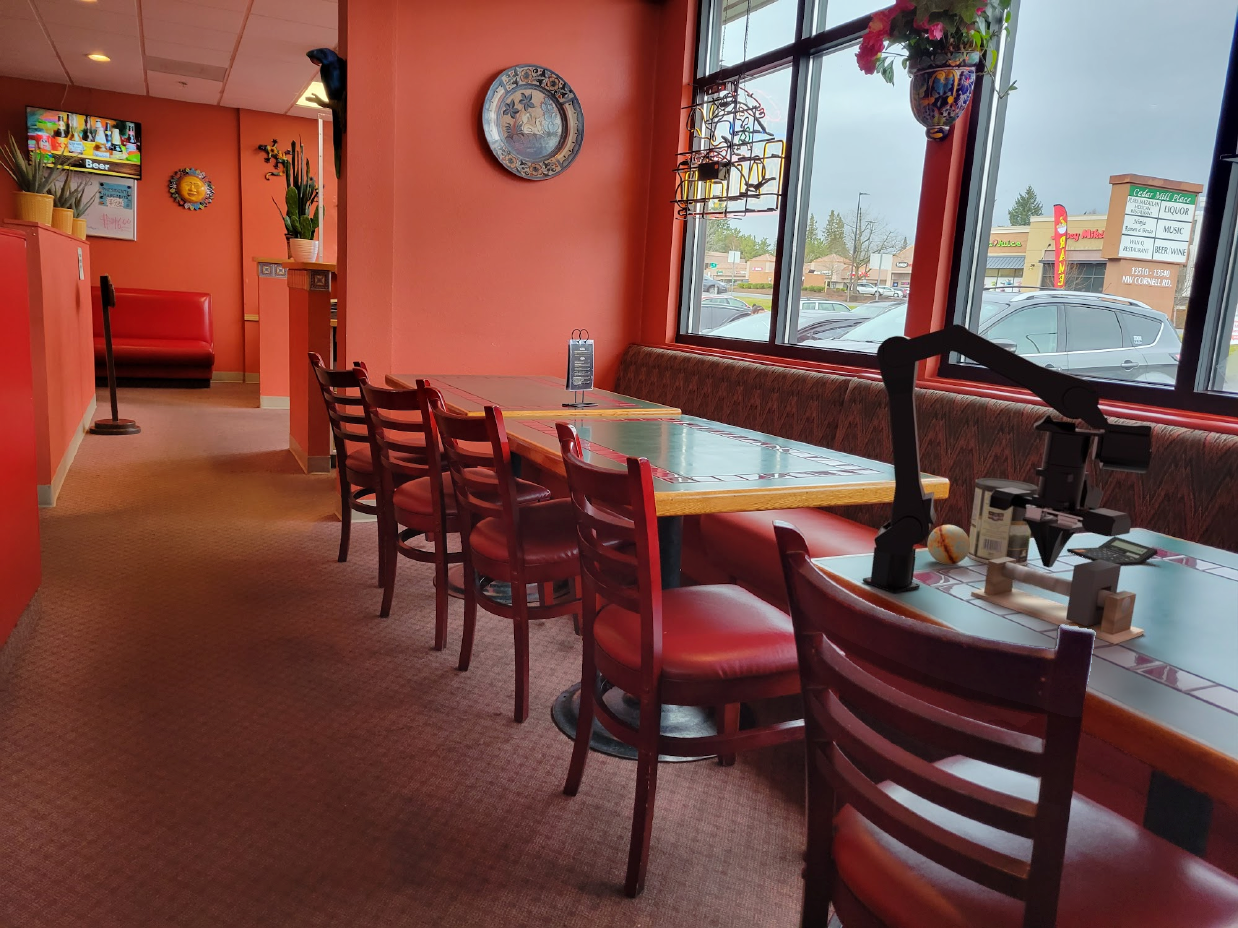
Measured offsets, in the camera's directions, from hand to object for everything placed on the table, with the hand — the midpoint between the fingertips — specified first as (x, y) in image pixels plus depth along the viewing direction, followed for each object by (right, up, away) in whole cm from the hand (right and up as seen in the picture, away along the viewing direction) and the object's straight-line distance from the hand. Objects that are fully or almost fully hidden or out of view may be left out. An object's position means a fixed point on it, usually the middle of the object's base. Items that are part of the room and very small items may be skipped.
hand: (1047, 566), depth 128 cm
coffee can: (+5, -2, +29) cm, 29 cm away
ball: (-6, -3, +24) cm, 25 cm away
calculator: (+29, -3, +35) cm, 45 cm away
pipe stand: (+1, -7, 0) cm, 7 cm away
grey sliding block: (+4, -7, -5) cm, 9 cm away
